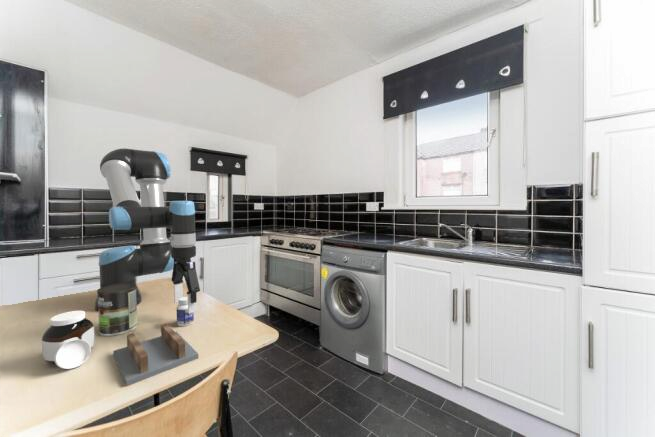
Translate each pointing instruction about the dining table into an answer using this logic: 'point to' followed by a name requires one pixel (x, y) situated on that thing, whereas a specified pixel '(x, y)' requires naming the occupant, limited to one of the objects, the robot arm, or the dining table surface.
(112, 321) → the coffee can
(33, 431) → the dining table surface
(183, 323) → the pill bottle
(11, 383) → the dining table surface
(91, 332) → the spread jar
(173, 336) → the wooden rail pair
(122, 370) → the plate
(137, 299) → the robot arm
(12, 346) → the dining table surface
